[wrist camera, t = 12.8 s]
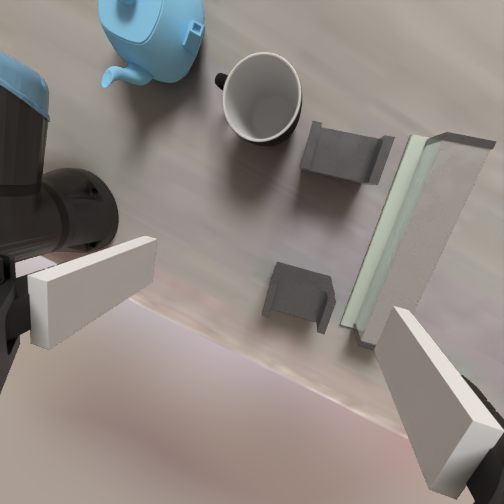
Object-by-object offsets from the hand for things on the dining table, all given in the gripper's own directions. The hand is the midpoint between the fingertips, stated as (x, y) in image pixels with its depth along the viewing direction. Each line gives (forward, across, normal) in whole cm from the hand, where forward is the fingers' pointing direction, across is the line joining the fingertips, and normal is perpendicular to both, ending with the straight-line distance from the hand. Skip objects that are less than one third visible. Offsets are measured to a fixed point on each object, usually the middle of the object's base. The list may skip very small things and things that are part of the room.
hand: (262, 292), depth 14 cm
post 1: (+29, +4, -10) cm, 31 cm away
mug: (+29, -8, +14) cm, 33 cm away
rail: (+28, +17, 0) cm, 33 cm away
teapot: (+29, -23, +21) cm, 42 cm away
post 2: (+29, +4, +10) cm, 31 cm away
